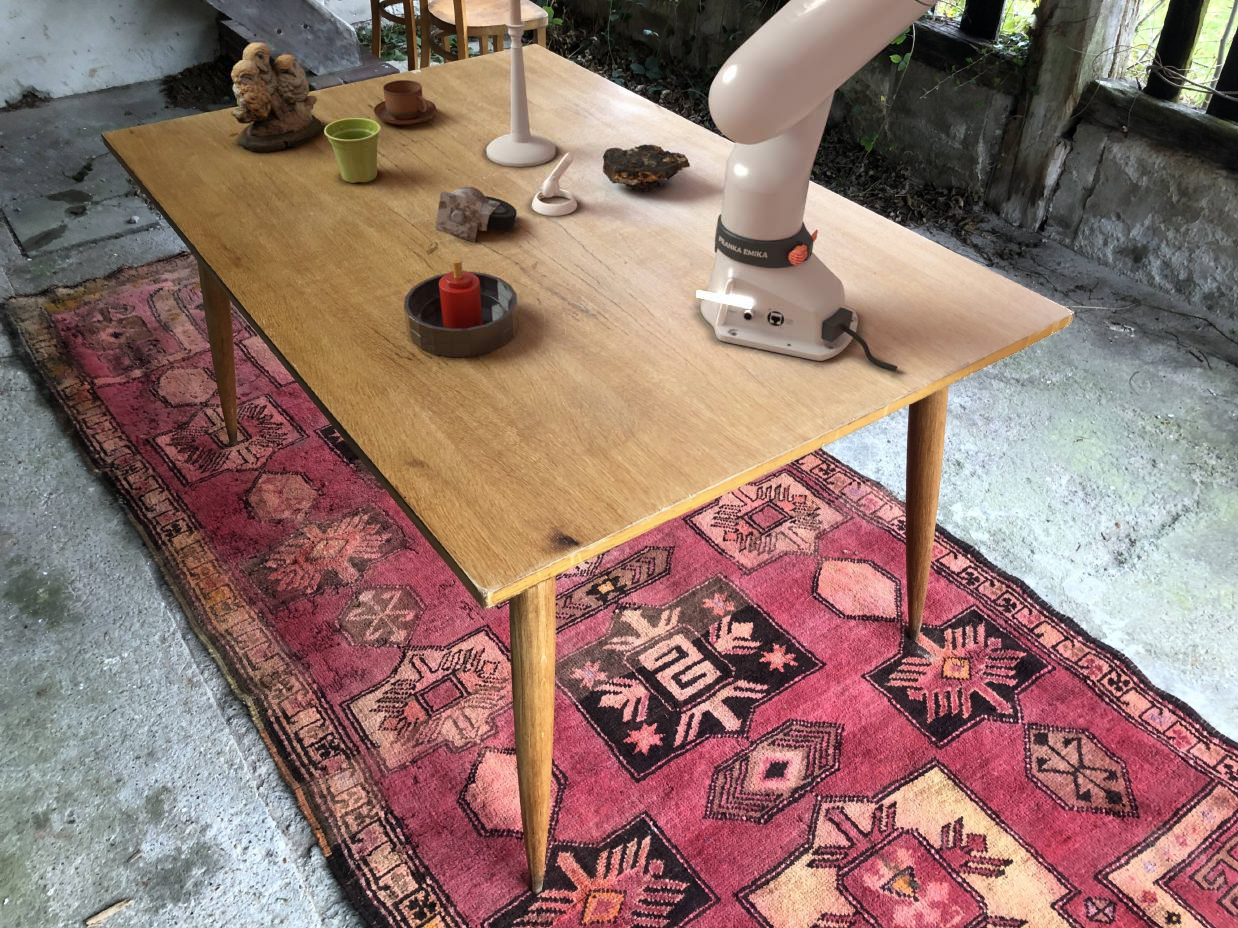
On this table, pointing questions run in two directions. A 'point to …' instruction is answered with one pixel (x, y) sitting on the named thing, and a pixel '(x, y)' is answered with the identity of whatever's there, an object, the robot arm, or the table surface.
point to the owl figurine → (272, 101)
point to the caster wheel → (472, 213)
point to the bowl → (461, 342)
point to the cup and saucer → (404, 104)
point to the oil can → (460, 298)
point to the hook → (555, 192)
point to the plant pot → (355, 147)
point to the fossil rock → (642, 166)
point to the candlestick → (519, 110)
